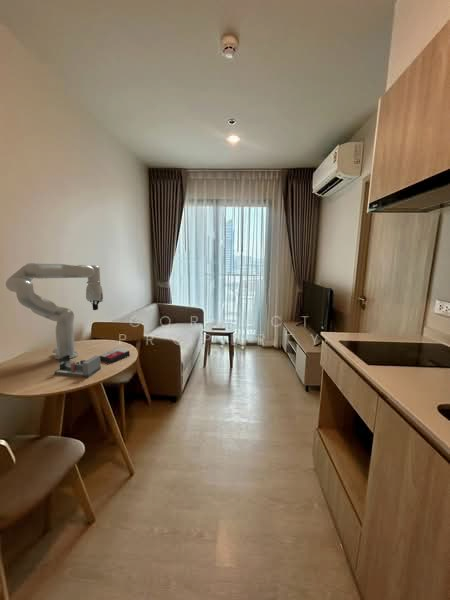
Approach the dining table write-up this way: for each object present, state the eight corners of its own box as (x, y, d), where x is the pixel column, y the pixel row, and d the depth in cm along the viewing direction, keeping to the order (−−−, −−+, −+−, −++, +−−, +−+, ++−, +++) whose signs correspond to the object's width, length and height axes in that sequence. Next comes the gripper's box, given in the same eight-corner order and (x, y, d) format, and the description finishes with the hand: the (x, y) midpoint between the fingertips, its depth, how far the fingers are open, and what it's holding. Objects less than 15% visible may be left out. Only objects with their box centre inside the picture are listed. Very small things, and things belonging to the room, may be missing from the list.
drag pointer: (71, 372, 140) (70, 363, 139) (73, 371, 141) (72, 362, 140) (73, 372, 139) (72, 363, 139) (75, 371, 141) (74, 362, 140)
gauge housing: (54, 374, 141) (53, 360, 140) (69, 365, 152) (68, 353, 151) (88, 377, 139) (87, 363, 137) (100, 369, 149) (100, 355, 148)
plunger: (56, 370, 141) (55, 360, 140) (67, 364, 149) (67, 354, 148) (70, 372, 140) (69, 361, 139) (81, 365, 148) (80, 356, 147)
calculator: (98, 355, 161) (117, 346, 174) (98, 361, 162) (118, 352, 175) (110, 358, 156) (129, 349, 170) (111, 365, 157) (130, 356, 170)
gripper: (80, 283, 174) (82, 310, 177) (101, 284, 172) (102, 311, 175) (87, 282, 181) (89, 308, 184) (107, 283, 179) (108, 309, 182)
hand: (95, 309), depth 180 cm, fingers closed
